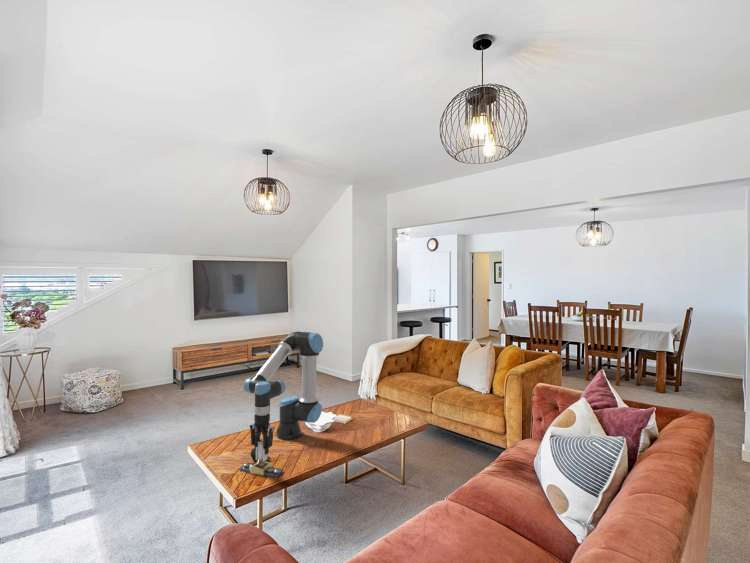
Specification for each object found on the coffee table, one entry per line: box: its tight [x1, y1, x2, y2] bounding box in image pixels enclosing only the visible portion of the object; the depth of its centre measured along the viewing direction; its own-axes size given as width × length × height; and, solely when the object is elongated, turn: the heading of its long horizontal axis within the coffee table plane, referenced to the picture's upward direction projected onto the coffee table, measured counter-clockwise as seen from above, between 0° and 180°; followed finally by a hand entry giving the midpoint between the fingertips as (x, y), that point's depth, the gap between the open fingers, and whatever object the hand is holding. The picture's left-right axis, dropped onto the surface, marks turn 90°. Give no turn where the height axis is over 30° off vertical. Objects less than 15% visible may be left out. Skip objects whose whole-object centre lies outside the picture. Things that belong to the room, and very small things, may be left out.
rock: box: [250, 447, 258, 463], centre depth 210 cm, size 10×9×6 cm
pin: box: [257, 438, 266, 466], centre depth 196 cm, size 4×4×12 cm
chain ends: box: [239, 461, 284, 479], centre depth 196 cm, size 8×22×3 cm, turn 71°
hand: (261, 459), depth 196 cm, fingers closed on pin, 4 cm apart
